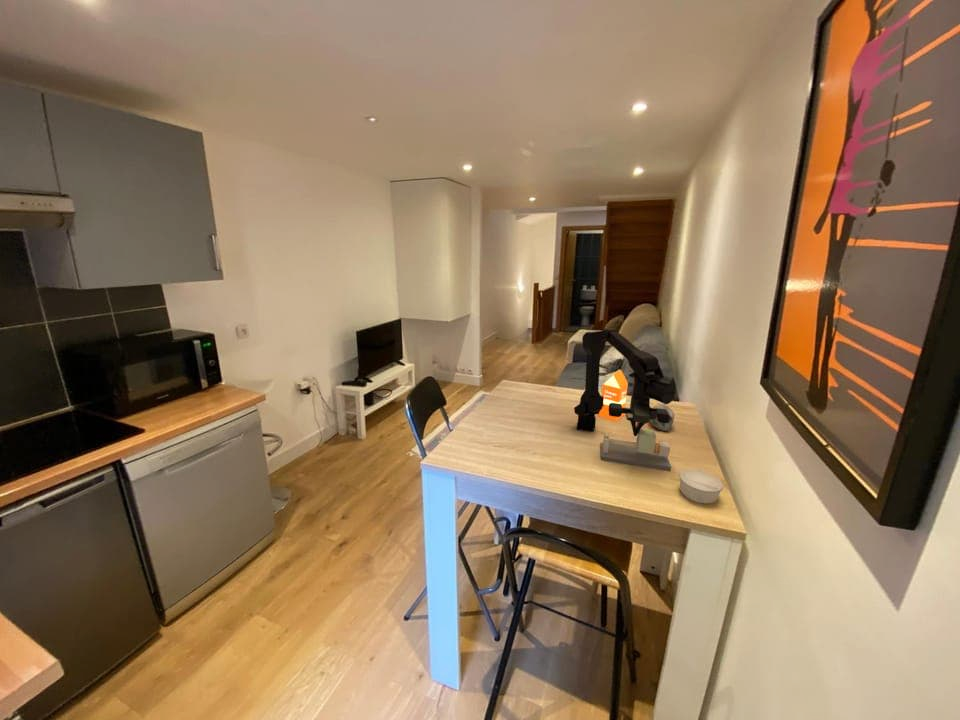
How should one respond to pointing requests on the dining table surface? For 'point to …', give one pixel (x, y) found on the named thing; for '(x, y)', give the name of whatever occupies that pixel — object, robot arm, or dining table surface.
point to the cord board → (635, 454)
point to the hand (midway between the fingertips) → (634, 435)
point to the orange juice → (614, 394)
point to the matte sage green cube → (646, 441)
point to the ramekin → (700, 486)
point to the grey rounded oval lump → (663, 425)
